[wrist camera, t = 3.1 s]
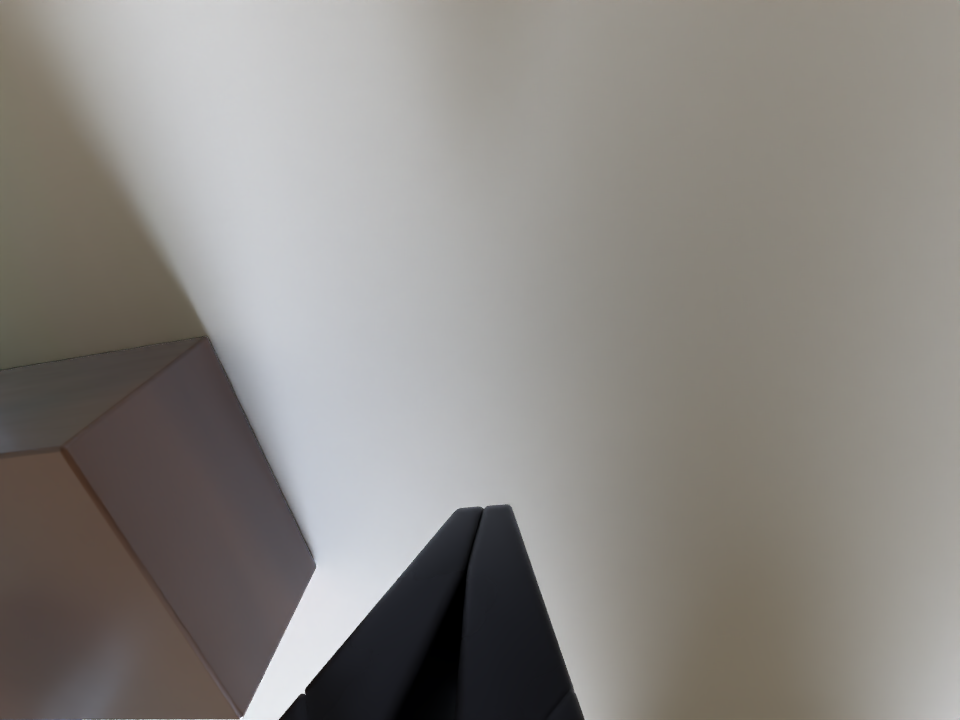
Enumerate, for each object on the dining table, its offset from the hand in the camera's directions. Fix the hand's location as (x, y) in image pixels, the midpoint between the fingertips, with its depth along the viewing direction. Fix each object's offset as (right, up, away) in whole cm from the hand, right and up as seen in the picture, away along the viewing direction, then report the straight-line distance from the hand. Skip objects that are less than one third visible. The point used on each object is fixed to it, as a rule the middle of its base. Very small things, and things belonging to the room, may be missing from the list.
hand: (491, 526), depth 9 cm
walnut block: (-7, 0, +4) cm, 8 cm away
